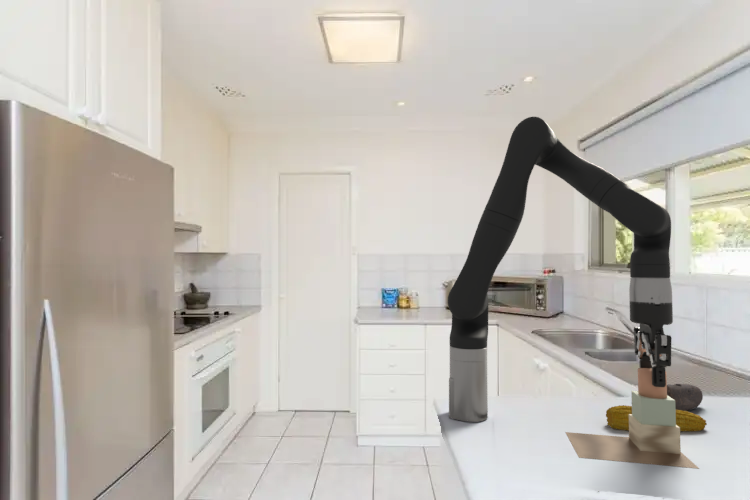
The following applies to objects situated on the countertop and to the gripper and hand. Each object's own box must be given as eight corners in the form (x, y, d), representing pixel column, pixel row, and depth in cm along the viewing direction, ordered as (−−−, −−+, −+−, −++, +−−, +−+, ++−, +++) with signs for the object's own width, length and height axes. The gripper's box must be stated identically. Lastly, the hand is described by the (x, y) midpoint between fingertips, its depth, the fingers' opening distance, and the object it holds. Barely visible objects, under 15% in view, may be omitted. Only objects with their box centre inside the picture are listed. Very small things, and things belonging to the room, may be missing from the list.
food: (615, 436, 100) (614, 409, 101) (603, 427, 106) (602, 402, 106) (712, 438, 100) (711, 410, 100) (695, 429, 105) (694, 403, 106)
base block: (640, 450, 89) (639, 424, 89) (629, 437, 96) (628, 413, 96) (680, 454, 88) (679, 427, 88) (666, 440, 94) (665, 416, 95)
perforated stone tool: (692, 404, 125) (691, 378, 125) (712, 409, 120) (711, 383, 120) (654, 410, 119) (653, 383, 120) (673, 416, 115) (673, 388, 115)
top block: (641, 424, 90) (641, 398, 90) (631, 414, 96) (631, 390, 96) (675, 426, 88) (675, 400, 89) (663, 417, 94) (663, 392, 95)
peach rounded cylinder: (643, 397, 91) (642, 372, 91) (634, 391, 95) (634, 367, 96) (671, 399, 89) (670, 373, 90) (661, 392, 94) (660, 368, 94)
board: (579, 462, 86) (578, 457, 86) (565, 436, 99) (565, 432, 99) (699, 474, 81) (699, 468, 81) (668, 445, 95) (667, 440, 95)
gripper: (619, 297, 101) (621, 373, 100) (642, 301, 87) (644, 390, 86) (657, 298, 99) (659, 375, 99) (686, 302, 85) (688, 392, 85)
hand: (652, 382), depth 92 cm, fingers open, 6 cm apart
